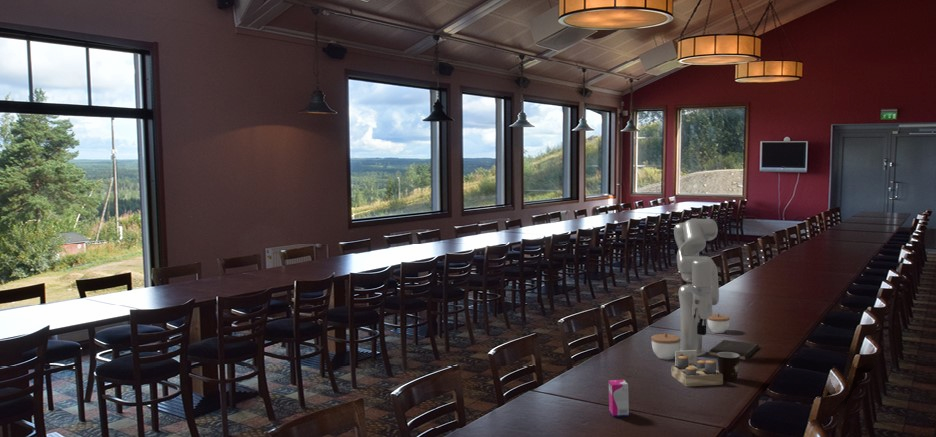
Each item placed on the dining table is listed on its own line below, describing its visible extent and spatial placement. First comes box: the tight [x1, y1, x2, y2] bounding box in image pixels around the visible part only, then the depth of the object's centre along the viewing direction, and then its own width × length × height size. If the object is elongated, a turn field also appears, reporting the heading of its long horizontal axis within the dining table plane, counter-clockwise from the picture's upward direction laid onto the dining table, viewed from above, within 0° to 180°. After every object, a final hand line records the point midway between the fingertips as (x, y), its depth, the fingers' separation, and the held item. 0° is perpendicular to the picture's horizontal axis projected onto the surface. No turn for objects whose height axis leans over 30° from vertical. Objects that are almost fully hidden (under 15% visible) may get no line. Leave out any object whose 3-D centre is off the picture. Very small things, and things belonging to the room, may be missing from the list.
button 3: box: [696, 359, 706, 369], centre depth 282 cm, size 4×4×5 cm
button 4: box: [704, 360, 717, 375], centre depth 274 cm, size 4×4×5 cm
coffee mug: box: [716, 352, 741, 383], centre depth 278 cm, size 12×9×10 cm
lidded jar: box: [707, 313, 730, 334], centre depth 354 cm, size 11×11×9 cm
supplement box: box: [608, 379, 630, 418], centre depth 242 cm, size 6×6×12 cm
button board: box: [670, 364, 724, 387], centre depth 278 cm, size 15×15×4 cm
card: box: [674, 350, 698, 365], centre depth 288 cm, size 1×9×9 cm, turn 95°
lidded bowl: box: [650, 332, 681, 360], centre depth 311 cm, size 13×13×11 cm
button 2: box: [685, 367, 696, 376], centre depth 274 cm, size 4×4×5 cm
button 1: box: [677, 356, 688, 370], centre depth 281 cm, size 4×4×5 cm
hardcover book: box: [708, 339, 760, 361], centre depth 318 cm, size 16×23×2 cm
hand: (701, 334), depth 282 cm, fingers closed
